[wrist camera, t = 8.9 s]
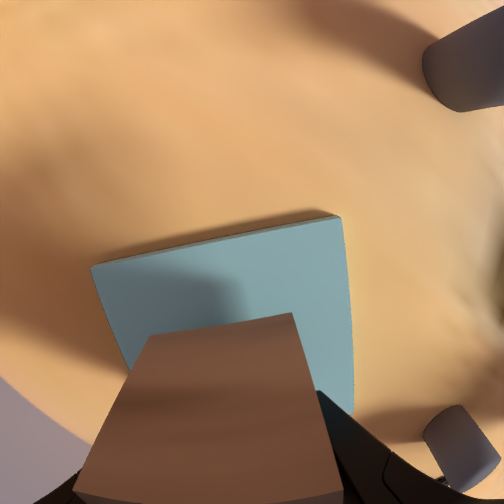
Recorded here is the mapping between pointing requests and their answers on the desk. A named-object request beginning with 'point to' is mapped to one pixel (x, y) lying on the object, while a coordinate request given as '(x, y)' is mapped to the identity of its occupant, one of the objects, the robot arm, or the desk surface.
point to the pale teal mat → (242, 293)
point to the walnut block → (216, 423)
